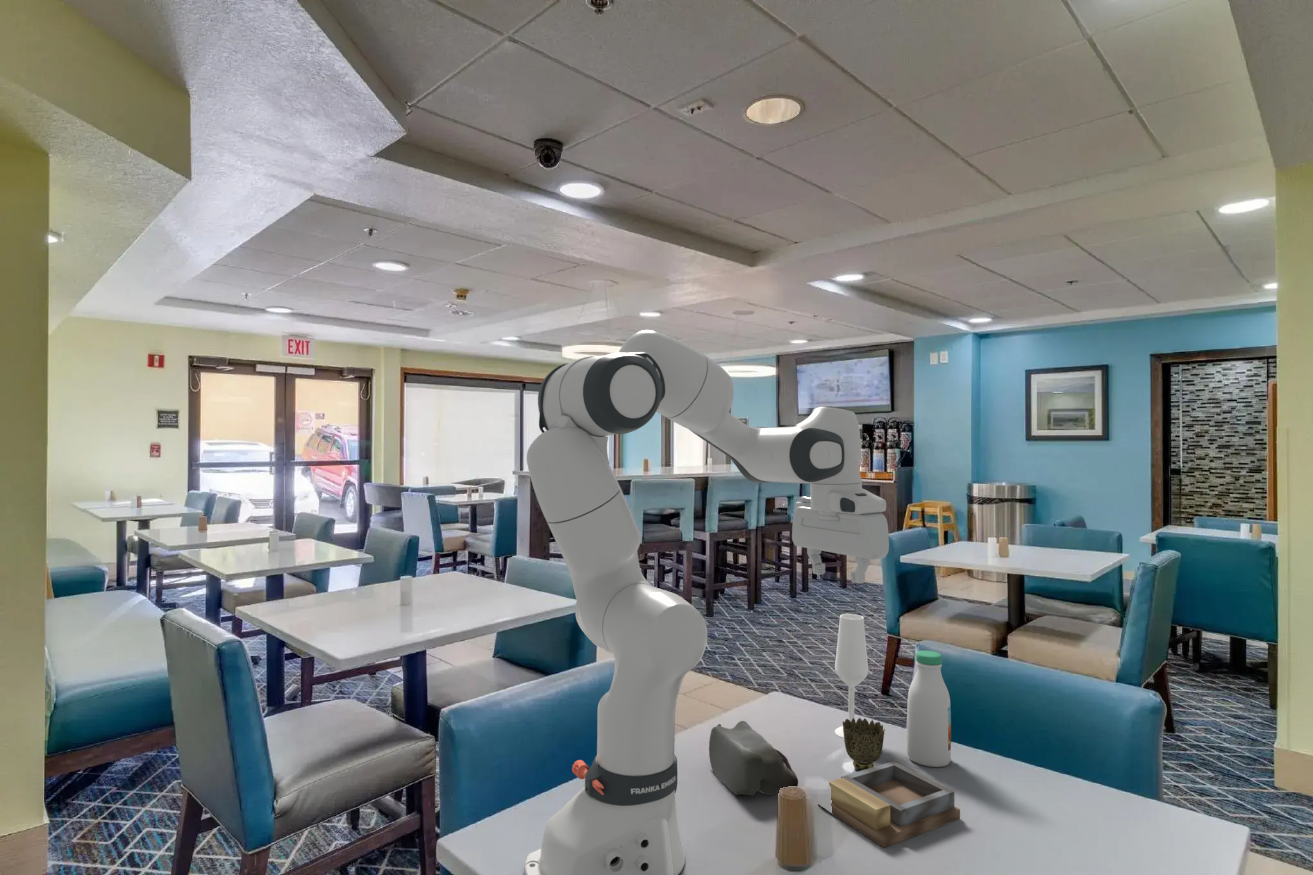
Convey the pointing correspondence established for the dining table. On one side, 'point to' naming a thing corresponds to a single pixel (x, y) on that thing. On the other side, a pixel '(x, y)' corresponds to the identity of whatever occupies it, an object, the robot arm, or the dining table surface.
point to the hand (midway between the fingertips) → (837, 578)
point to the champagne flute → (851, 657)
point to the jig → (891, 803)
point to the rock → (748, 761)
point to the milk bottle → (929, 713)
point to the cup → (863, 742)
